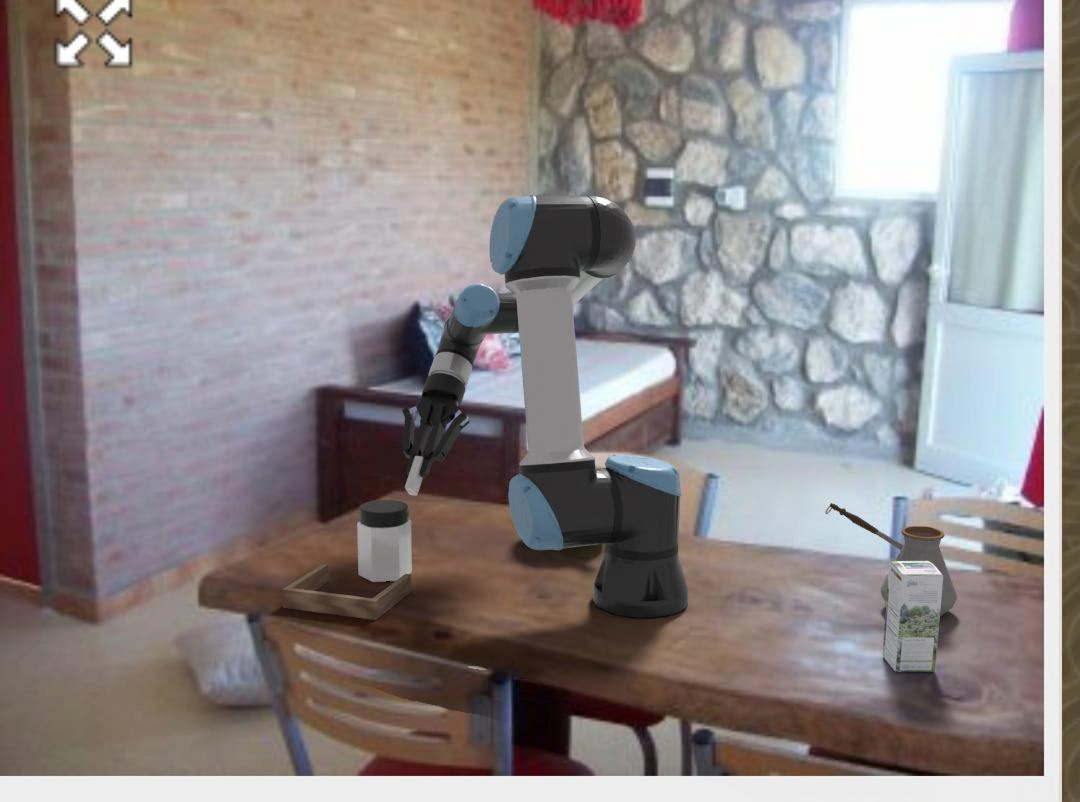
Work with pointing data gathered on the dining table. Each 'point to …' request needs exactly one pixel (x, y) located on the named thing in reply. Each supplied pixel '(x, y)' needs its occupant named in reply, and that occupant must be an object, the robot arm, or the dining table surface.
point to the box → (341, 597)
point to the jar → (384, 541)
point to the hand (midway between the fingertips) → (410, 491)
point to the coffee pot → (914, 552)
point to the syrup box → (912, 616)
